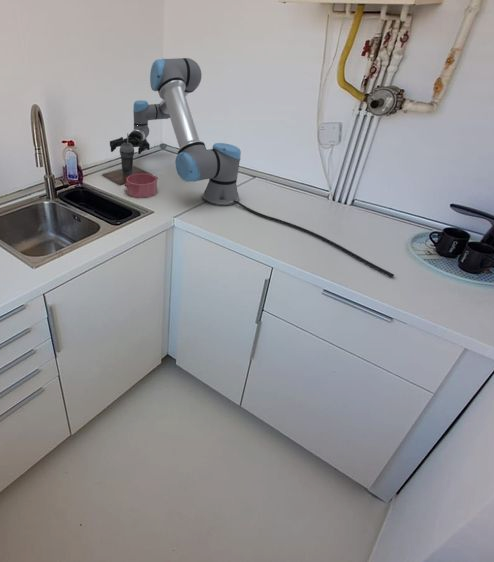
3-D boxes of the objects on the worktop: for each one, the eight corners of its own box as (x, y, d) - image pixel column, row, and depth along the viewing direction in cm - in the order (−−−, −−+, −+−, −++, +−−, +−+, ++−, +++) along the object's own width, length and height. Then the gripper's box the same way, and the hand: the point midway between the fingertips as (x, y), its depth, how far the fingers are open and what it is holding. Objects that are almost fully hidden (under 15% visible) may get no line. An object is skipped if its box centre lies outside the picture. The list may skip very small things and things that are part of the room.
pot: (165, 191, 171) (165, 179, 168) (135, 201, 163) (134, 188, 159) (147, 182, 180) (147, 170, 176) (117, 191, 172) (117, 178, 168)
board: (153, 176, 187) (153, 174, 186) (119, 185, 177) (119, 183, 177) (134, 167, 197) (134, 165, 196) (102, 175, 187) (102, 173, 187)
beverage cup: (130, 170, 191) (129, 129, 179) (137, 175, 186) (137, 133, 174) (117, 173, 187) (115, 132, 176) (125, 177, 183) (123, 135, 171)
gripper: (159, 147, 193) (150, 160, 176) (113, 143, 197) (100, 156, 181) (160, 132, 189) (150, 144, 172) (113, 128, 193) (99, 140, 176)
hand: (125, 150), depth 176 cm, fingers open, 13 cm apart
